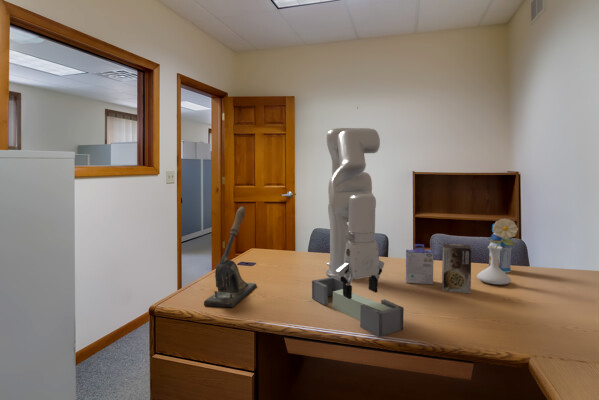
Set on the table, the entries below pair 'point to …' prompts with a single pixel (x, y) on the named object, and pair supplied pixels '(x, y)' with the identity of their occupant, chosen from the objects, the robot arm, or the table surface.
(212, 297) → the embossing press
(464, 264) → the coffee box
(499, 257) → the beverage bottle
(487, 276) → the flower in vase
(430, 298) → the table surface
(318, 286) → the cap sliding
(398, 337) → the table surface
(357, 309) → the pale green long block
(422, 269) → the ink cartridge box
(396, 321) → the cap fixed
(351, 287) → the robot arm
